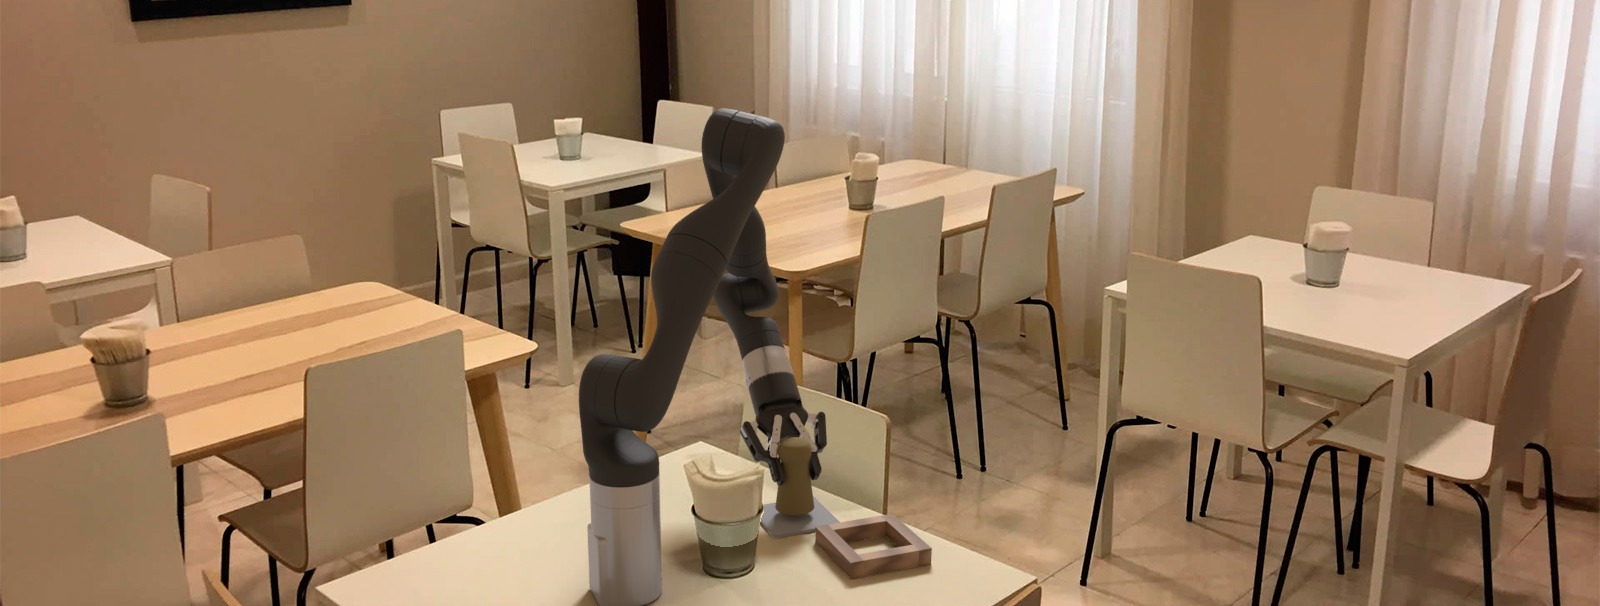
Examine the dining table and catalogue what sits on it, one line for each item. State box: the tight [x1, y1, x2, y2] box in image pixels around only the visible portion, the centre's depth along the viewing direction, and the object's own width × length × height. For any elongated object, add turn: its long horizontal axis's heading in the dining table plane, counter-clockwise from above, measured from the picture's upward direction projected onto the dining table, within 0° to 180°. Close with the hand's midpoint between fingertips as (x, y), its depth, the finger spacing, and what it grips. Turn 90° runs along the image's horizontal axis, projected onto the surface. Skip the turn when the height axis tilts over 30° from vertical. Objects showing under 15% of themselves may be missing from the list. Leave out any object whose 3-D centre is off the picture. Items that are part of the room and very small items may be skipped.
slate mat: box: [760, 495, 841, 539], centre depth 199 cm, size 11×11×1 cm
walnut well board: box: [814, 513, 933, 580], centre depth 187 cm, size 13×13×2 cm
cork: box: [775, 437, 814, 515], centre depth 197 cm, size 6×6×11 cm
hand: (798, 480), depth 196 cm, fingers closed on cork, 5 cm apart
